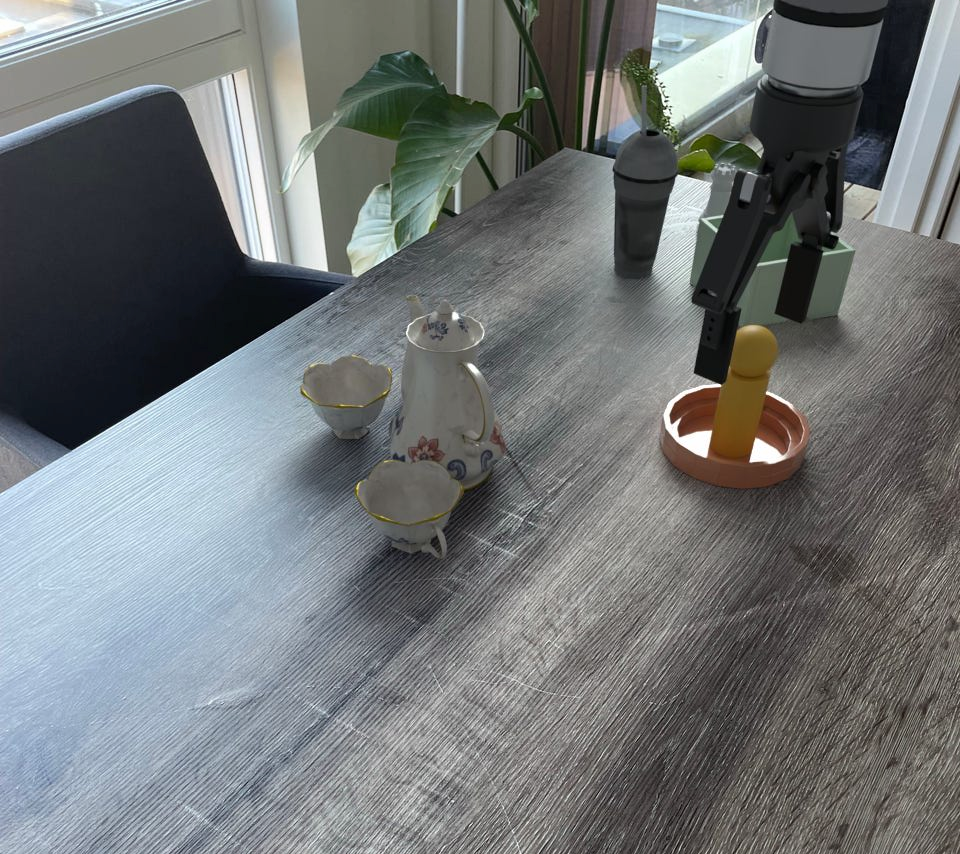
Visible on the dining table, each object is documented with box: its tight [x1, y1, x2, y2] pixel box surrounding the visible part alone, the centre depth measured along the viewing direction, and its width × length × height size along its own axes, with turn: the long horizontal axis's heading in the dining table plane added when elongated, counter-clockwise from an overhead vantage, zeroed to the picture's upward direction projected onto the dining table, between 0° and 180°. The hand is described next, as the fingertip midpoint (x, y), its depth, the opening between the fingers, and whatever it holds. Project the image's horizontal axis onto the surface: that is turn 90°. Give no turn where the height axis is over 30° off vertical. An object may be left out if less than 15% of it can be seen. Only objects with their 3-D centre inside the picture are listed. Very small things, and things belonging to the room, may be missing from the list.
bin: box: [689, 213, 856, 329], centre depth 115 cm, size 12×12×8 cm
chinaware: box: [299, 294, 507, 560], centre depth 89 cm, size 28×17×17 cm, turn 27°
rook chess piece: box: [696, 162, 737, 231], centre depth 127 cm, size 4×4×8 cm
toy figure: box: [710, 325, 779, 458], centre depth 92 cm, size 4×4×12 cm
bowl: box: [659, 383, 811, 490], centre depth 96 cm, size 13×13×3 cm
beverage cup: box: [612, 84, 679, 279], centre depth 115 cm, size 7×7×20 cm
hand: (751, 346), depth 89 cm, fingers open, 13 cm apart
